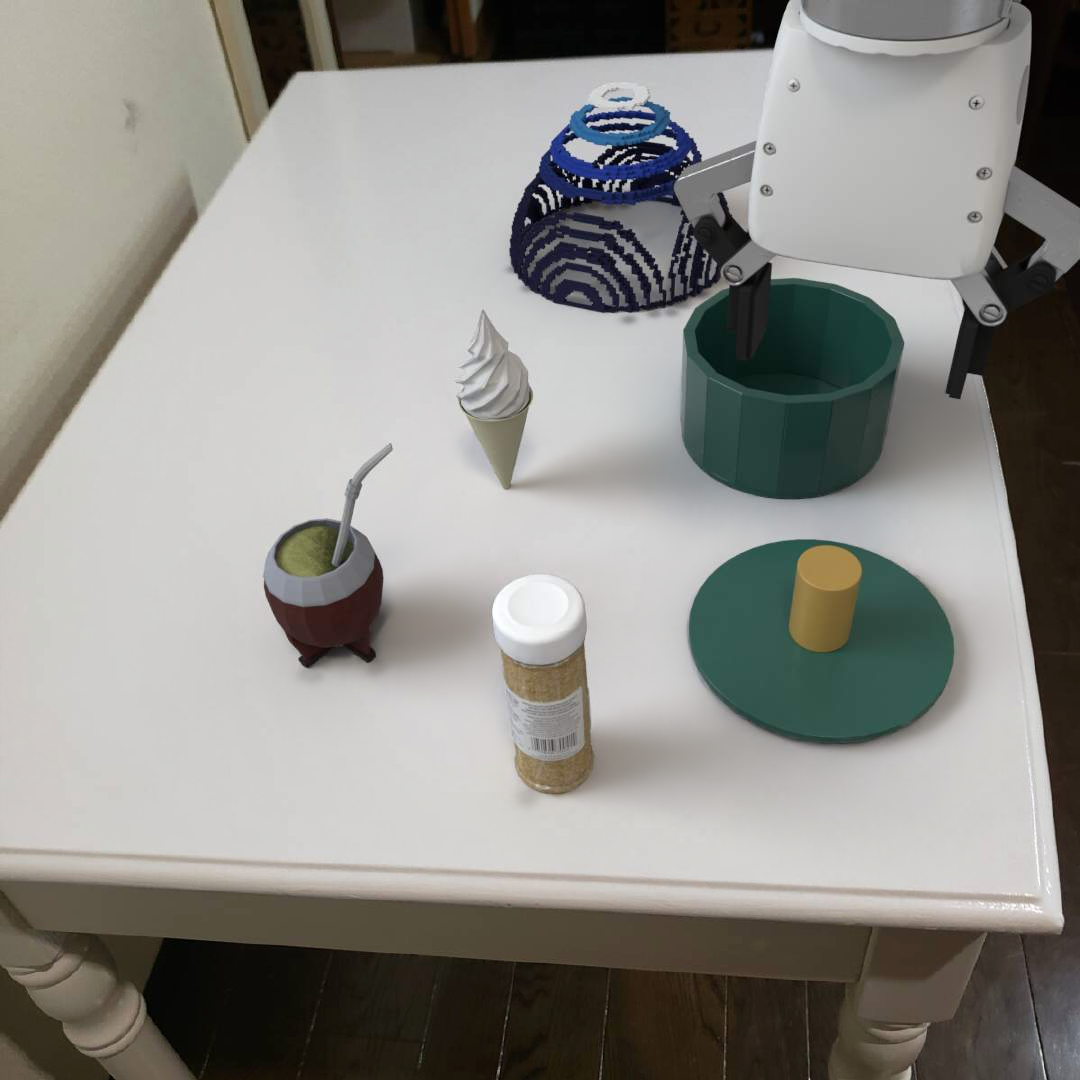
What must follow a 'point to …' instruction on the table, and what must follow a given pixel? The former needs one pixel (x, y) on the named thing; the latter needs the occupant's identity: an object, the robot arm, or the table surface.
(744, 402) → the tin
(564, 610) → the sprinkles bottle
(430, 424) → the table surface
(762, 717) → the lid
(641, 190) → the decorative bowl
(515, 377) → the ice cream cone
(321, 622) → the mate gourd
